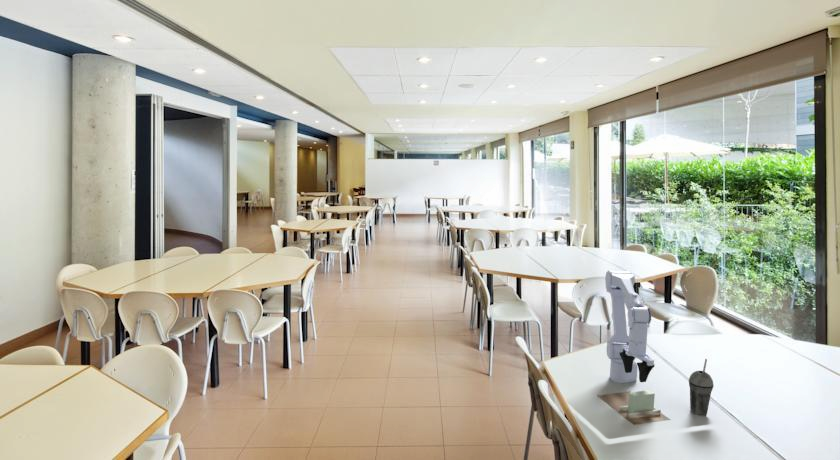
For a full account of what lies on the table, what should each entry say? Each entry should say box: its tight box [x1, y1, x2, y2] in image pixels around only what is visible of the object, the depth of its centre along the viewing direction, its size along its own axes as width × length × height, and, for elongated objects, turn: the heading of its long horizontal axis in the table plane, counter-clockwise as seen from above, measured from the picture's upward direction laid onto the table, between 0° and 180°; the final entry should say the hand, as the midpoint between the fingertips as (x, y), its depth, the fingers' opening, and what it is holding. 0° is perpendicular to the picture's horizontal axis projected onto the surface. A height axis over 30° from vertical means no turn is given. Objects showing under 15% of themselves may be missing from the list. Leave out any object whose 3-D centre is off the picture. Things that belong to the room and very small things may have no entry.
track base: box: [596, 390, 671, 426], centre depth 158 cm, size 14×20×3 cm
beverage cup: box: [688, 358, 714, 417], centre depth 154 cm, size 7×7×20 cm
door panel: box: [628, 389, 656, 413], centre depth 154 cm, size 8×2×7 cm, turn 103°
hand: (635, 376), depth 162 cm, fingers open, 7 cm apart
